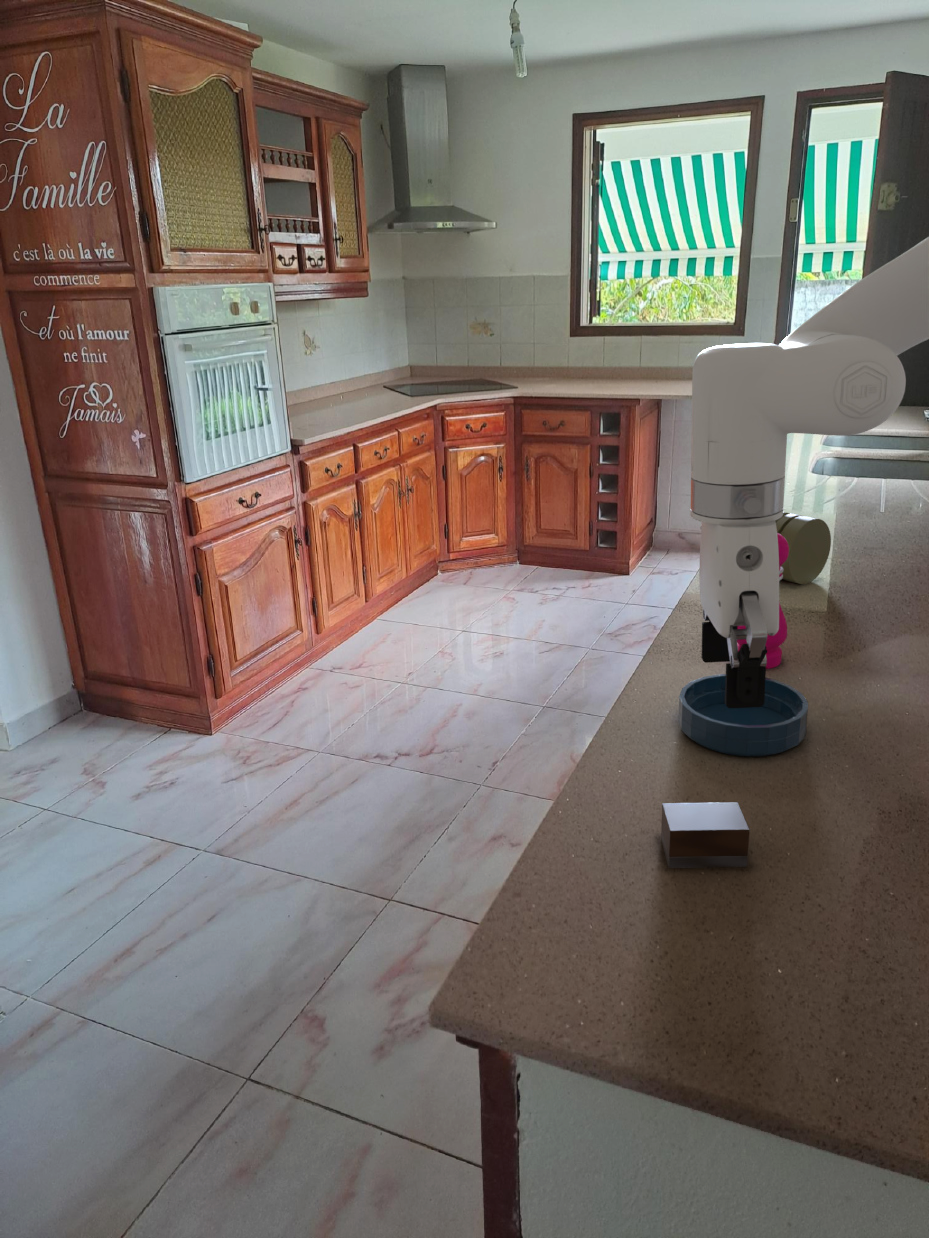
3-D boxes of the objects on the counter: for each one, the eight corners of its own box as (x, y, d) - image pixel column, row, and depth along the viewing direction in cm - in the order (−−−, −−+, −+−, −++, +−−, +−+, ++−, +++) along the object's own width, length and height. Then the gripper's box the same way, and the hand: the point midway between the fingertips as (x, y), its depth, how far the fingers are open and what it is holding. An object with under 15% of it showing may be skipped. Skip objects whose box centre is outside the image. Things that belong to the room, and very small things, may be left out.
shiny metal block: (735, 838, 84) (737, 801, 82) (747, 867, 79) (749, 829, 78) (660, 839, 84) (662, 803, 83) (668, 868, 80) (670, 830, 79)
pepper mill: (751, 646, 127) (760, 510, 120) (795, 661, 121) (807, 519, 114) (719, 660, 123) (726, 520, 116) (763, 675, 117) (773, 530, 110)
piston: (770, 561, 163) (774, 502, 159) (827, 576, 154) (833, 513, 150) (729, 574, 157) (733, 513, 153) (786, 590, 148) (791, 525, 144)
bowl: (784, 701, 110) (787, 672, 108) (822, 758, 97) (825, 725, 95) (669, 704, 111) (670, 675, 109) (690, 761, 97) (692, 728, 96)
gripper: (815, 520, 66) (802, 724, 72) (755, 474, 82) (748, 644, 88) (713, 526, 66) (709, 729, 72) (673, 479, 82) (672, 648, 88)
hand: (730, 682), depth 80 cm, fingers open, 9 cm apart
